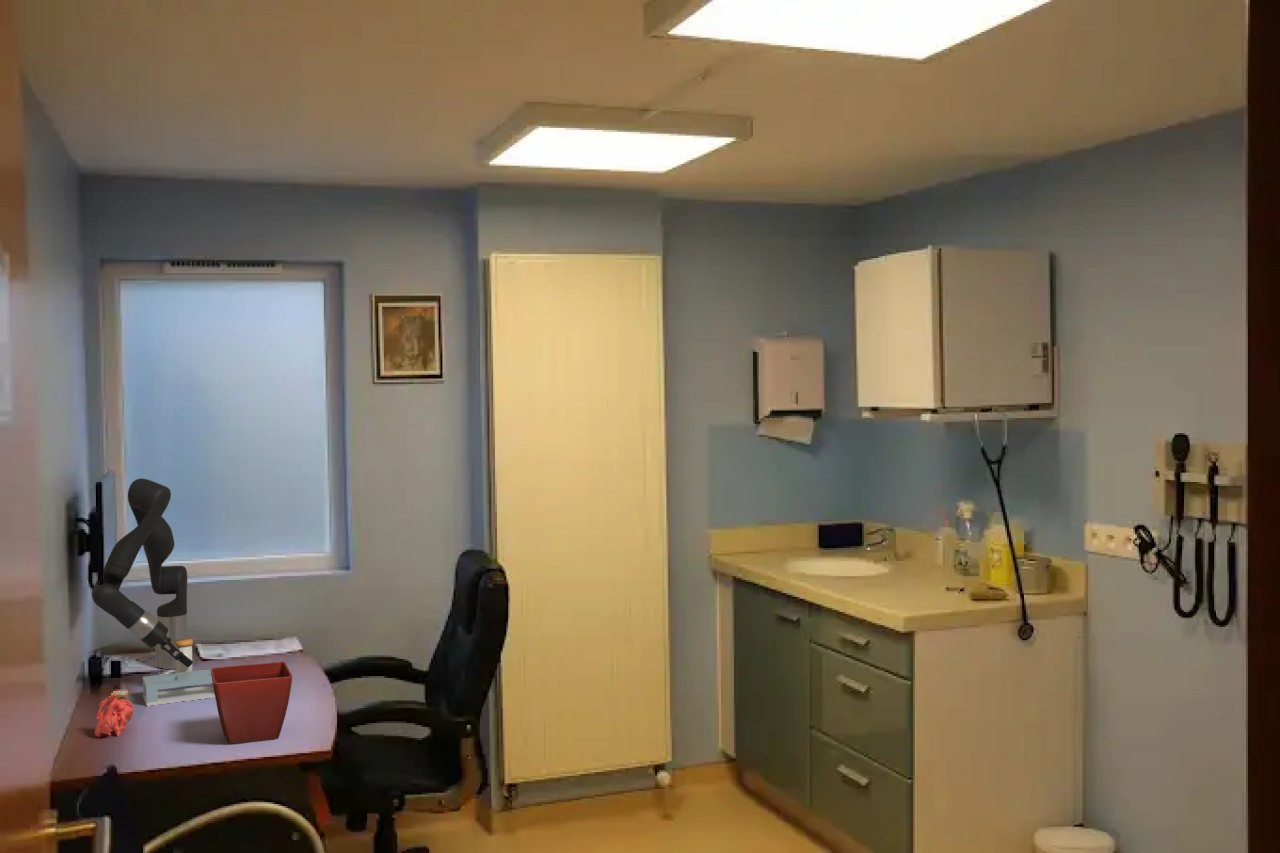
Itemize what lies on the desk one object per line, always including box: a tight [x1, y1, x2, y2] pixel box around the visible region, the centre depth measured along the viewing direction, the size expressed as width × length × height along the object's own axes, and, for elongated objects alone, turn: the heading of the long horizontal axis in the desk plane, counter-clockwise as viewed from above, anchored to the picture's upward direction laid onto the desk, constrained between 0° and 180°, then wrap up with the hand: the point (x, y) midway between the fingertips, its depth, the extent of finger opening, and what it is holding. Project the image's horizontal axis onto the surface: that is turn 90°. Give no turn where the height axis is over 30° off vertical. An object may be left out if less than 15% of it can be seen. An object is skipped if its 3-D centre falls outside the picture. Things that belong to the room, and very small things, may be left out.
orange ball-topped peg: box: [175, 638, 194, 688], centre depth 355 cm, size 5×5×14 cm
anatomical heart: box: [94, 692, 134, 738], centre depth 305 cm, size 9×12×12 cm
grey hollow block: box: [142, 668, 215, 707], centre depth 342 cm, size 22×12×6 cm, turn 118°
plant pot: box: [210, 661, 293, 744], centre depth 302 cm, size 19×19×17 cm
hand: (189, 662), depth 356 cm, fingers open, 8 cm apart
